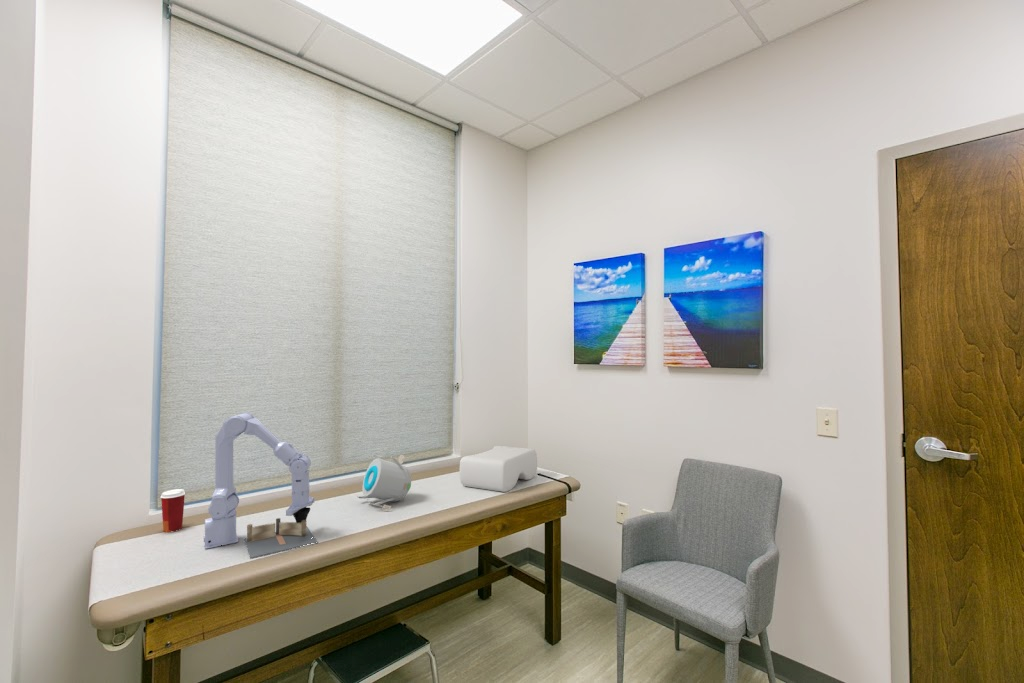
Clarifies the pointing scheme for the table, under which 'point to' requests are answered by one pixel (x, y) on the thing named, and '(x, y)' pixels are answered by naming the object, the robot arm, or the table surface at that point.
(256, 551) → the card
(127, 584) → the table surface
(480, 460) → the knee pillow
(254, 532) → the fixed fence
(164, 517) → the paper cup
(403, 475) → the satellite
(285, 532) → the fence gate
